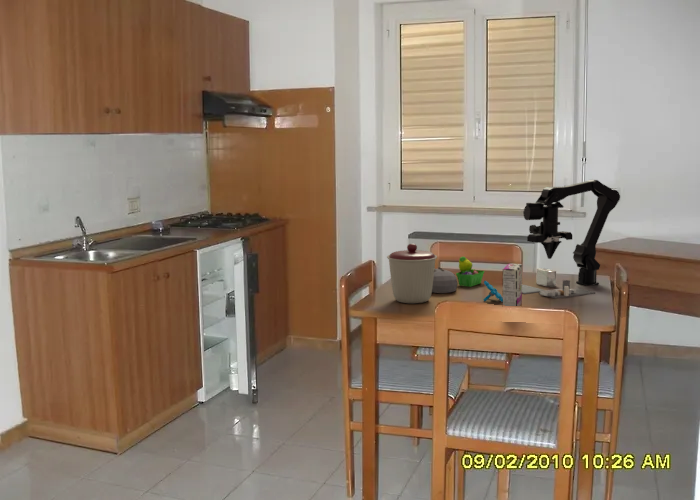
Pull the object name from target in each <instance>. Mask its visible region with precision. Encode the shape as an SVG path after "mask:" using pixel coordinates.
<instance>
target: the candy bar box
mask: <svg viewBox="0 0 700 500" xmlns="http://www.w3.org/2000/svg"><path fill="white" fill-rule="evenodd" d="M522 285H523V264H521V263H508V264H506V266H504V267H503V268H502V297H503V302H502V306H503V305H505V306H522V307H523V294H522Z"/></svg>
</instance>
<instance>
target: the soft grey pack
mask: <svg viewBox="0 0 700 500" xmlns="http://www.w3.org/2000/svg"><path fill="white" fill-rule="evenodd" d="M458 285H459V282H458V278H457V275H456V273H453V272H452V271H450V270H447V269H443V268H442V267H439V266H438V267H437V268H435V269H434V278H433V286H432V293H435V294H446V293H453V292H455V291H457V288H458Z"/></svg>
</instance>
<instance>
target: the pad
mask: <svg viewBox="0 0 700 500" xmlns="http://www.w3.org/2000/svg"><path fill="white" fill-rule="evenodd" d="M545 290H546V289H542V288H538V287H535V286H530V285H527V284H522V295H528V294H529V295H530V294H536V293H537V294H538V293H540V291H545Z"/></svg>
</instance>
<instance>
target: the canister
mask: <svg viewBox="0 0 700 500" xmlns="http://www.w3.org/2000/svg"><path fill="white" fill-rule="evenodd" d="M406 248H407V249H406V250H405V249H404V250H398V251H392V252H391V253H390V254H389V255H387V256H386V258H387V260H388V262H389V273H390V283H391V289H392V294H393V297H394V300H395V301H397V302H399V303H402V304H422V303H423V304H424V303H426V302H428V301H429V300H430V299H431V296H432V293H433V292H432V286H433V278H434V269H436V268H435V266H436V260H437V259H438V255H436V254H435V253H433V252H432V251H427V250H419V249H418V245H417V244H416V243H409V244H408V245H407V247H406Z"/></svg>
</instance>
